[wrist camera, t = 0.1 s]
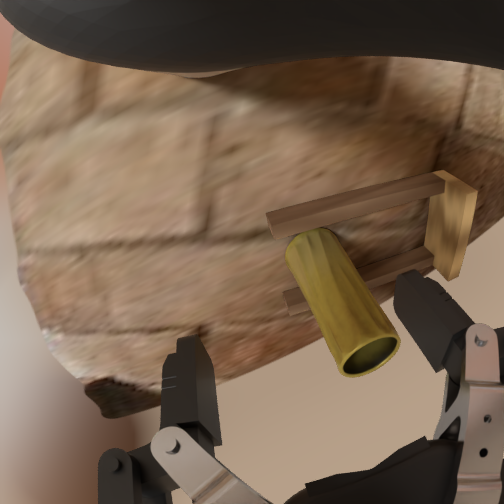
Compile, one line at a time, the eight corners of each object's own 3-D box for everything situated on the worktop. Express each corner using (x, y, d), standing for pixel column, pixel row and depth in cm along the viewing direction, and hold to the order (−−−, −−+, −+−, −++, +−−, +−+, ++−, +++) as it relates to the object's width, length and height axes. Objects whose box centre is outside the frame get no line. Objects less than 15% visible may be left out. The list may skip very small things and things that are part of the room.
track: (265, 213, 27) (282, 247, 23) (443, 169, 28) (477, 191, 23) (284, 300, 34) (298, 339, 30) (432, 250, 35) (458, 276, 30)
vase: (346, 233, 30) (419, 330, 19) (323, 277, 34) (376, 378, 22) (297, 221, 29) (363, 330, 17) (276, 270, 32) (319, 383, 20)
